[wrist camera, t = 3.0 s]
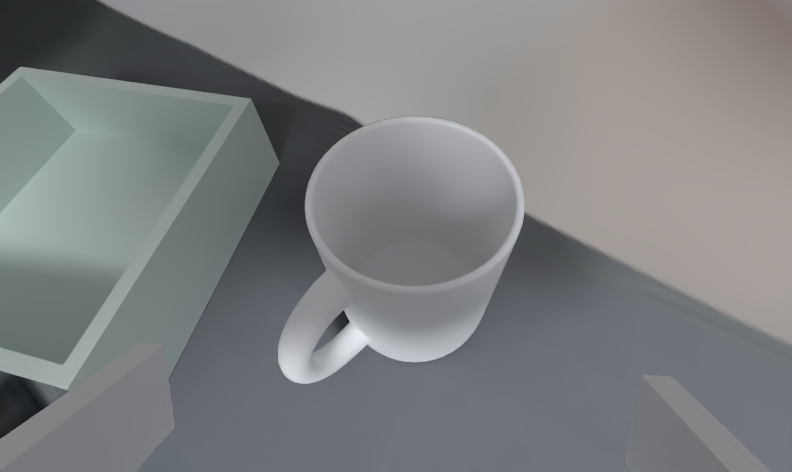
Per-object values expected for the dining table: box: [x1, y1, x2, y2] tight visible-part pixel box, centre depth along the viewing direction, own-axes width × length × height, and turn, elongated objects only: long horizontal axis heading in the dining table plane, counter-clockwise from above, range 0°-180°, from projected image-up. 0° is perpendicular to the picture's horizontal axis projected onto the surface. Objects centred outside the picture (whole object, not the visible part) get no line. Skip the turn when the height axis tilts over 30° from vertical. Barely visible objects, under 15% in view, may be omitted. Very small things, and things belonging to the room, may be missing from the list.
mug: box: [278, 116, 525, 384], centre depth 18 cm, size 12×8×10 cm
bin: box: [0, 67, 280, 391], centre depth 24 cm, size 18×18×6 cm
